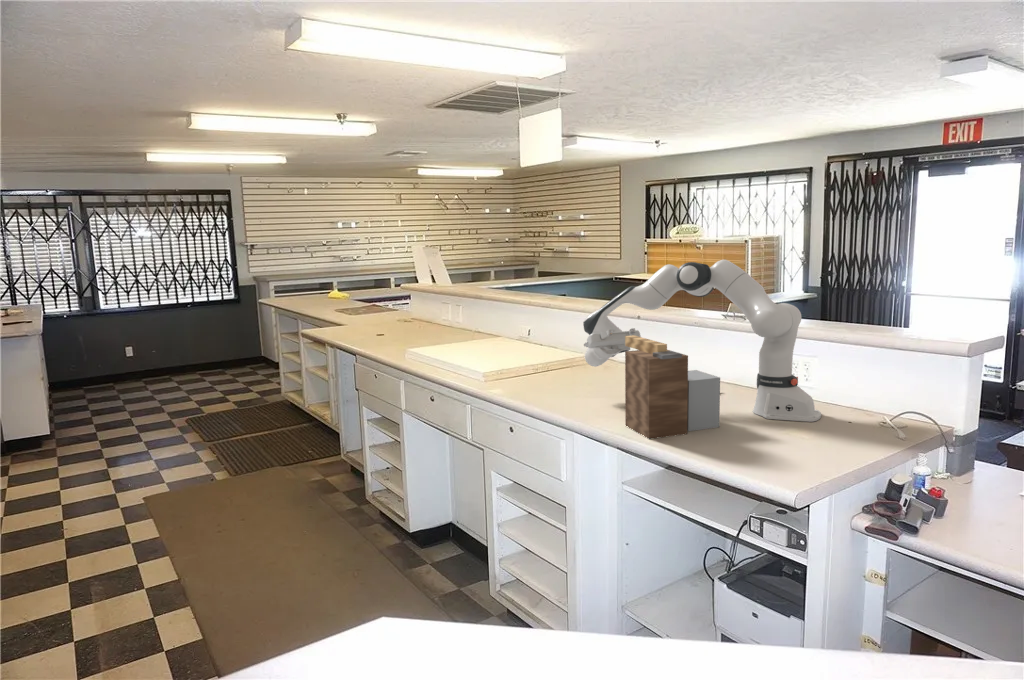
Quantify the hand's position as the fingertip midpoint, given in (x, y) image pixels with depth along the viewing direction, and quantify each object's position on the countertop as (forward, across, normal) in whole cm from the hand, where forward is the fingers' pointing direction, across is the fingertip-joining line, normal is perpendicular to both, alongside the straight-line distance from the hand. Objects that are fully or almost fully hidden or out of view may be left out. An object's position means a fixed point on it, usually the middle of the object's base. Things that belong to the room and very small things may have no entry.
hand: (622, 331), depth 239 cm
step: (+4, +15, +37) cm, 41 cm away
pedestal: (+6, 0, +38) cm, 39 cm away
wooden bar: (+15, 0, +14) cm, 20 cm away
